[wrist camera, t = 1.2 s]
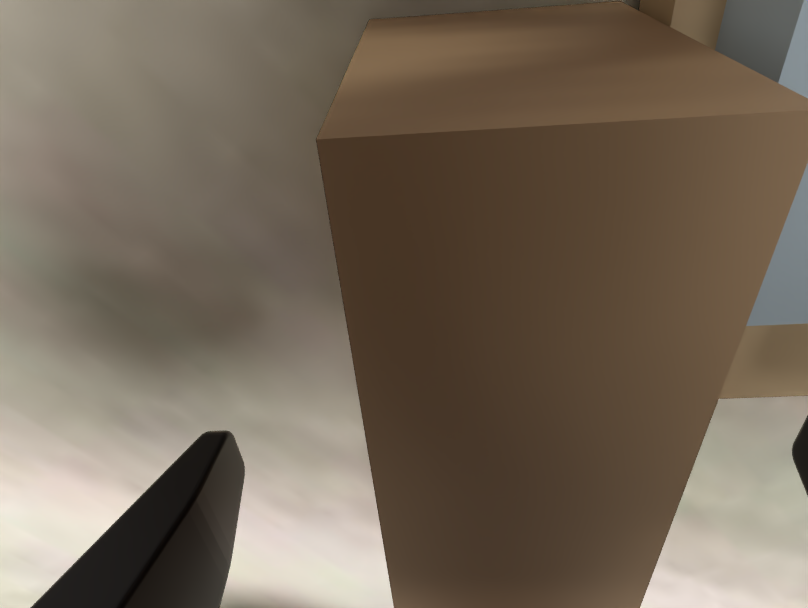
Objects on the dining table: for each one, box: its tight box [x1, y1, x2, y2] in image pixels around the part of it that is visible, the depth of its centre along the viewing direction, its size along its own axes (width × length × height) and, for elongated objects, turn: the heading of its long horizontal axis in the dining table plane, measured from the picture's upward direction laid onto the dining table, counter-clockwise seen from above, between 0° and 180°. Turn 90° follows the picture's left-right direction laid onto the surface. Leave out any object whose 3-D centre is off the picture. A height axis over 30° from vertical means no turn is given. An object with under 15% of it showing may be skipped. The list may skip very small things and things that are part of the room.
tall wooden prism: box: [316, 1, 808, 608], centre depth 9 cm, size 4×12×6 cm, turn 4°
